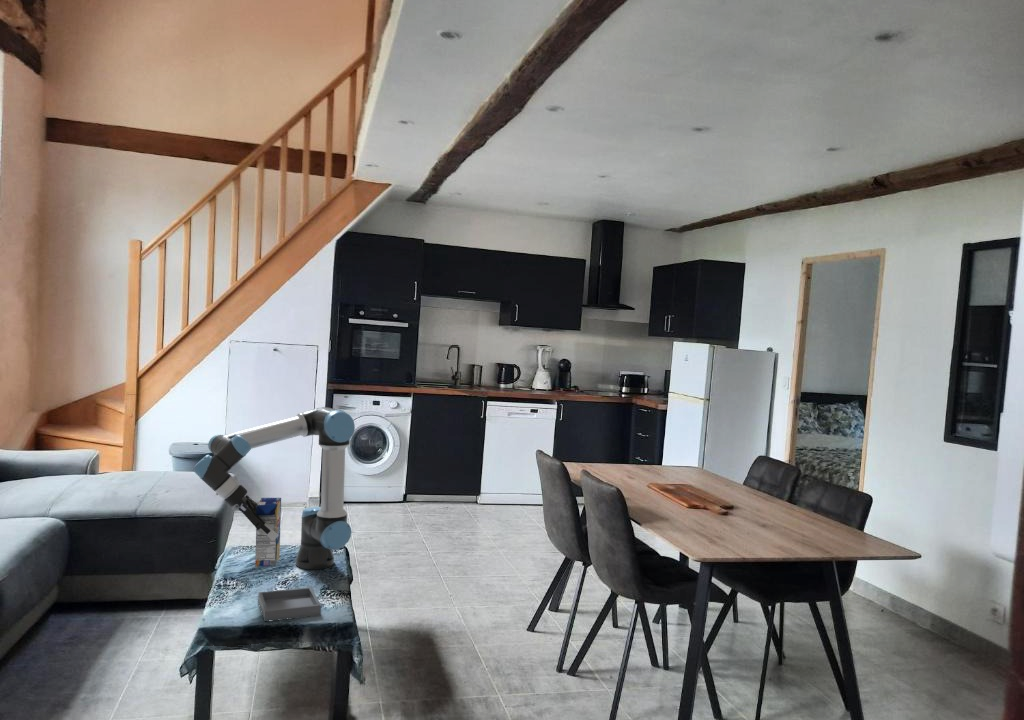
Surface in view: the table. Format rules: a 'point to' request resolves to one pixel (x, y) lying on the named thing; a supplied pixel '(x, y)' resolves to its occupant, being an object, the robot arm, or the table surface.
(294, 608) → the tray
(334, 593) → the table surface
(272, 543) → the beverage box
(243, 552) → the table surface
